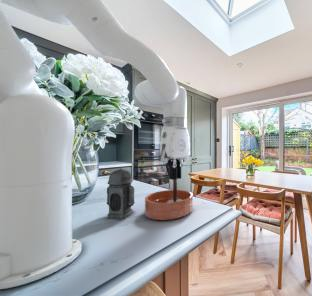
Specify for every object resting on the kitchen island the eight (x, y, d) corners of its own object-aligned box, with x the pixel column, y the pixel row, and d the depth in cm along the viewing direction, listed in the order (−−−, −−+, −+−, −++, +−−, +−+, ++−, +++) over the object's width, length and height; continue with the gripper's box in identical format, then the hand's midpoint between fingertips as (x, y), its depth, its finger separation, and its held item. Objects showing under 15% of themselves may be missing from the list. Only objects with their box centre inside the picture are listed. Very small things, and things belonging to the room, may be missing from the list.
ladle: (175, 210, 54) (175, 163, 53) (163, 207, 56) (163, 162, 56) (186, 205, 58) (186, 162, 58) (174, 202, 60) (174, 161, 60)
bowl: (170, 226, 47) (170, 206, 47) (134, 215, 54) (134, 198, 54) (200, 208, 61) (201, 193, 61) (169, 201, 67) (169, 188, 67)
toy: (139, 211, 57) (139, 167, 57) (127, 219, 51) (127, 170, 51) (115, 210, 58) (115, 167, 57) (101, 217, 52) (101, 169, 52)
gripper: (166, 120, 48) (166, 184, 48) (197, 126, 62) (197, 176, 62) (147, 122, 51) (147, 182, 52) (181, 127, 65) (181, 174, 65)
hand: (175, 178), depth 57 cm, fingers closed on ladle, 1 cm apart
